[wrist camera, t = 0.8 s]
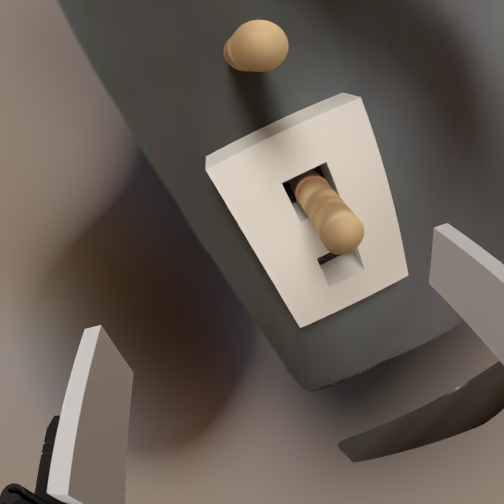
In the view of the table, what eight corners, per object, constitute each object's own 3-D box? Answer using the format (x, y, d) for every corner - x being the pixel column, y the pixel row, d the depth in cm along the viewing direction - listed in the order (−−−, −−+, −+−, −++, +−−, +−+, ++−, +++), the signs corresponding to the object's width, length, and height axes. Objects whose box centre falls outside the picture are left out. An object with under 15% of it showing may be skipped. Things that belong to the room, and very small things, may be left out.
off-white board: (342, 92, 30) (360, 97, 26) (393, 256, 43) (408, 275, 39) (206, 156, 32) (205, 169, 29) (292, 305, 45) (300, 328, 41)
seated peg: (309, 156, 34) (358, 207, 23) (321, 183, 36) (369, 243, 25) (280, 170, 34) (315, 228, 23) (293, 197, 36) (330, 262, 25)
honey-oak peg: (248, 31, 26) (274, 10, 15) (265, 61, 28) (299, 59, 17) (215, 46, 26) (218, 33, 15) (232, 76, 28) (246, 83, 17)
